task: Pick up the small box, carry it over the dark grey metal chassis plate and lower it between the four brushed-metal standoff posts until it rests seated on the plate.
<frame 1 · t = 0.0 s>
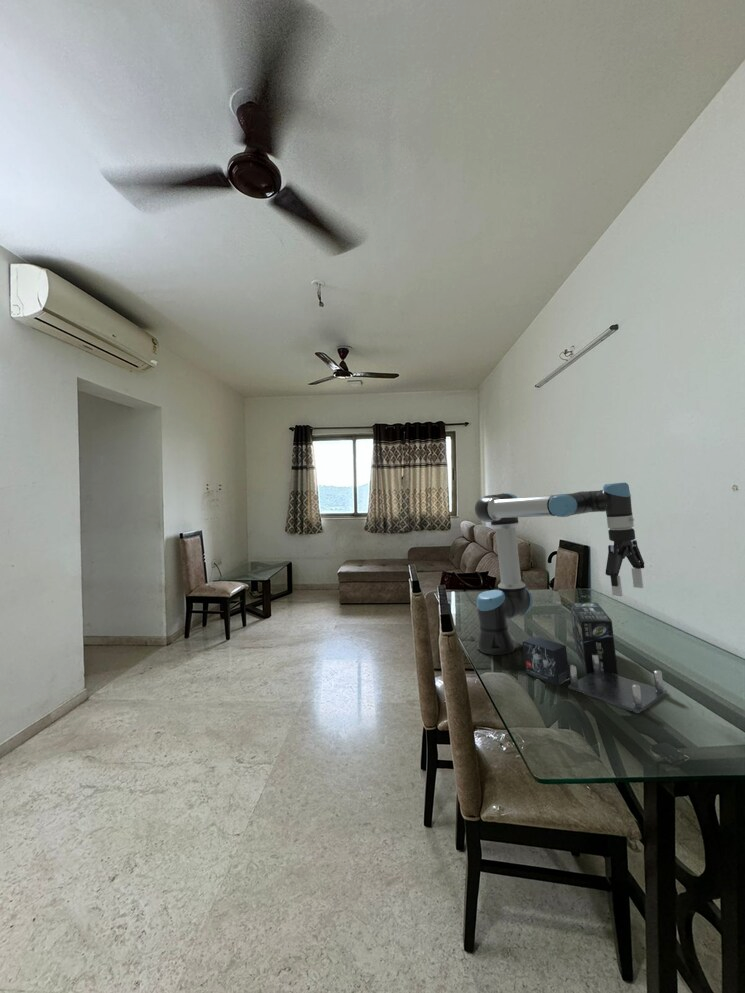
hand: (628, 591, 134), 28 cm above the table, fingers open, 13 cm apart
box: (595, 661, 147), on the table, touching chassis
small box: (547, 677, 138), on the table
chassis: (616, 691, 124), on the table
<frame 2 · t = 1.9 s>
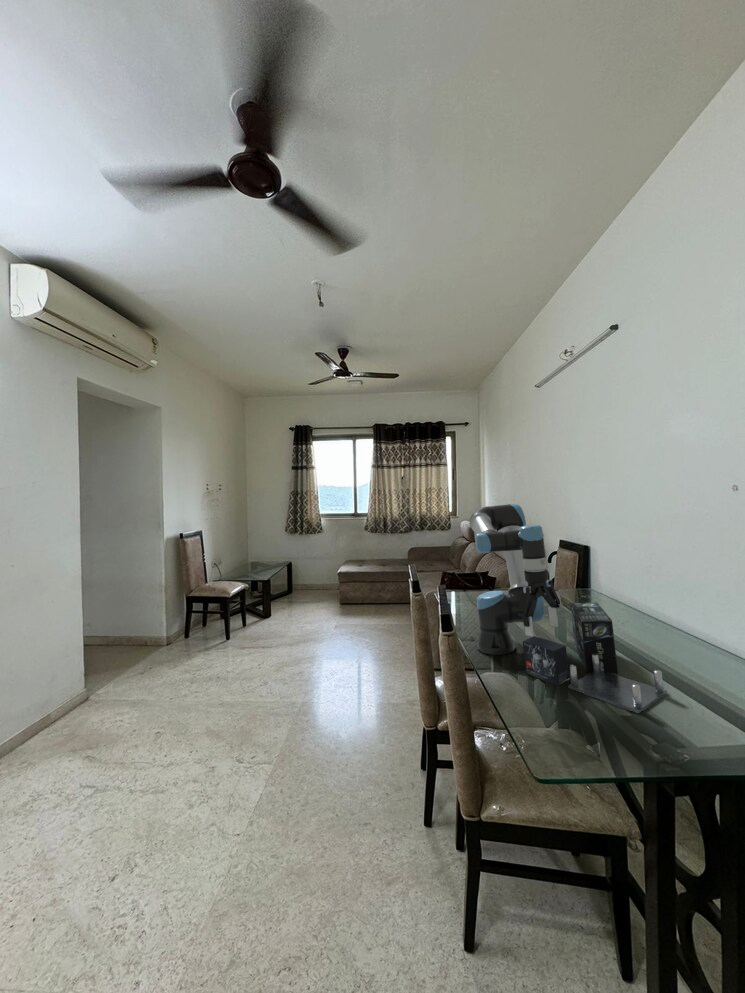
hand: (542, 630, 138), 16 cm above the table, fingers open, 13 cm apart
nothing on the table moved.
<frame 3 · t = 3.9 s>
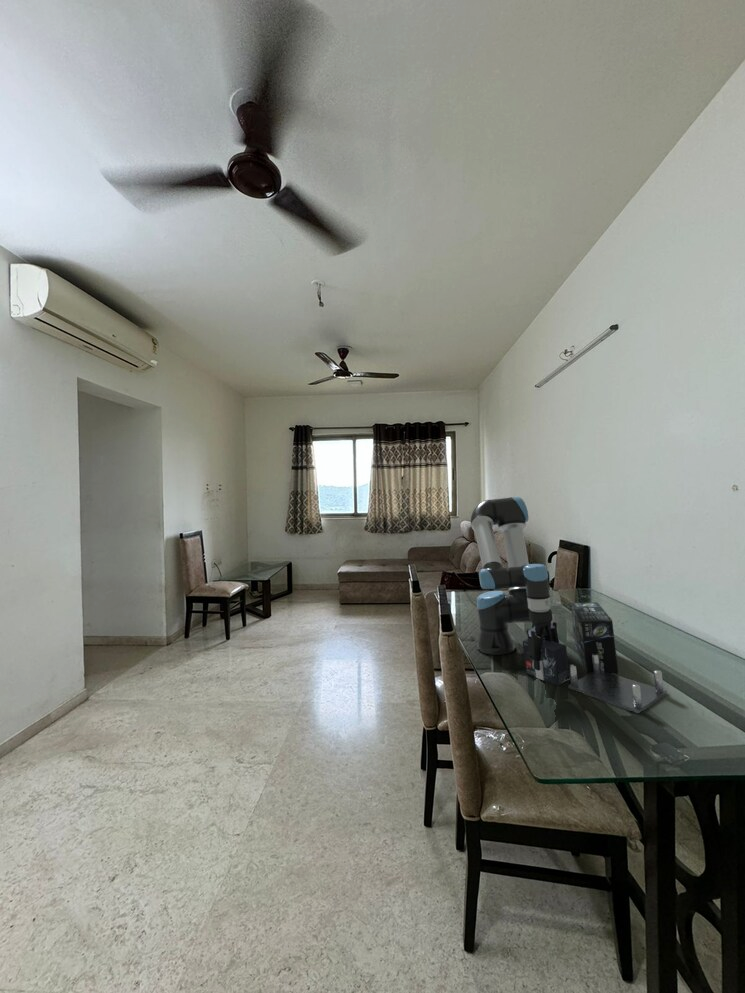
hand: (547, 675, 138), 1 cm above the table, fingers closed on small box, 7 cm apart
small box: (547, 677, 138), on the table, touching gripper
everything else where it was.
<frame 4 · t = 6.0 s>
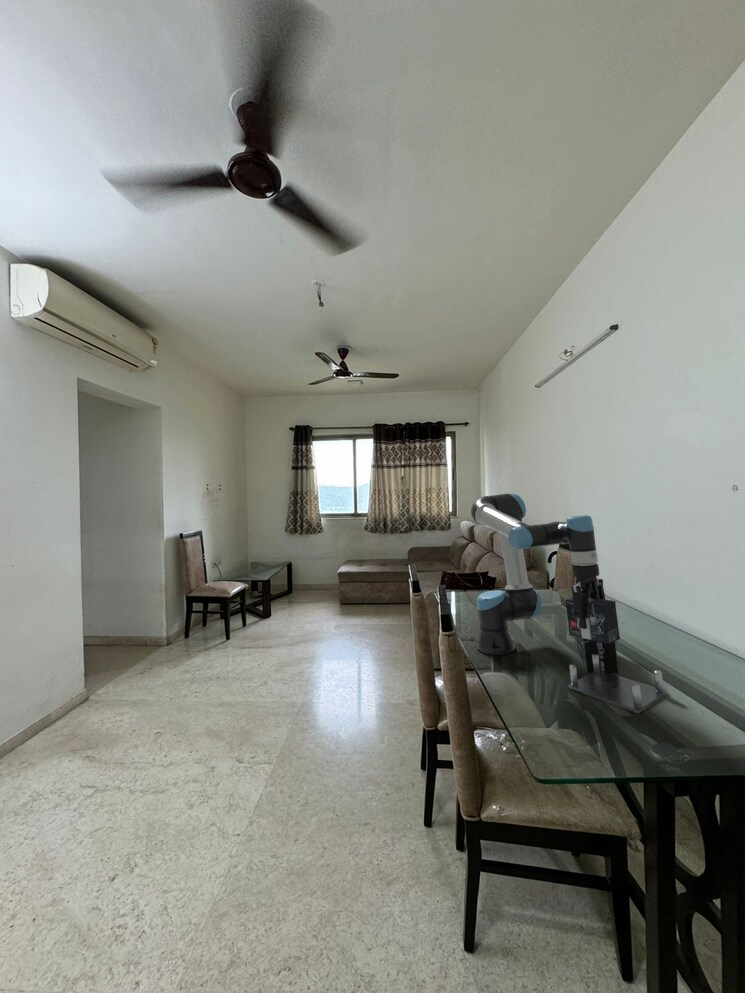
hand: (593, 635, 127), 17 cm above the table, fingers closed on small box, 7 cm apart
small box: (594, 637, 127), point 16 cm above the table, touching gripper
everything else where it was.
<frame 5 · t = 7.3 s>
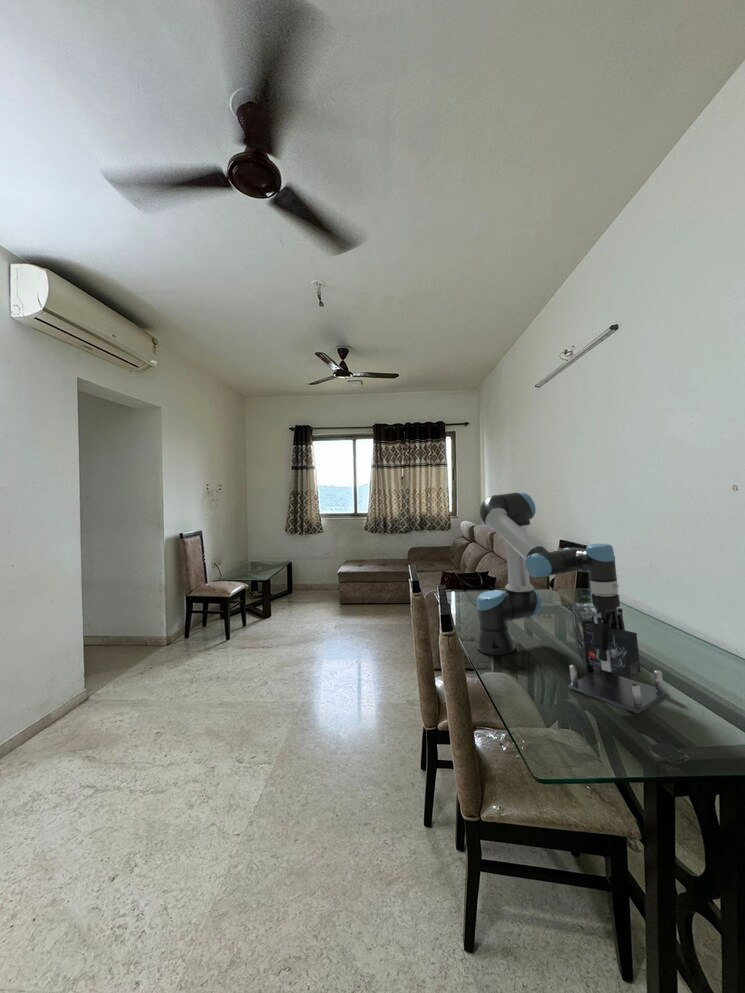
hand: (613, 666, 124), 8 cm above the table, fingers closed on small box, 7 cm apart
small box: (613, 669, 124), point 7 cm above the table, touching gripper
everything else where it was.
when the fingers open (3 cm above the table, at t = 8.4 s): small box drops 1 cm, resting on chassis.
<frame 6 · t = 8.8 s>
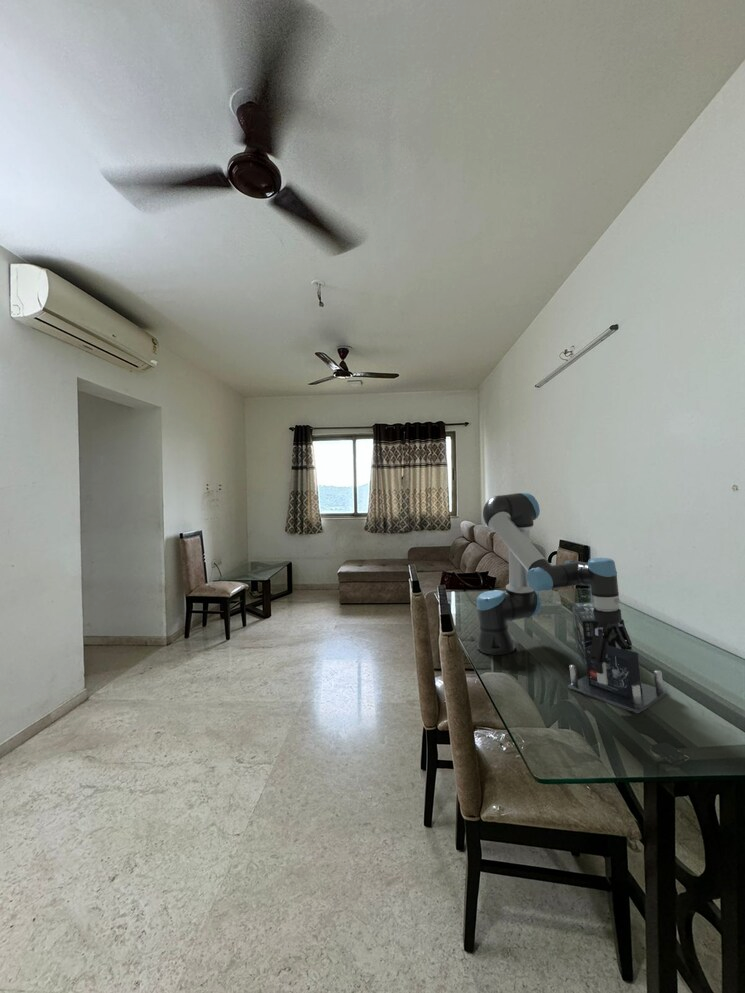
hand: (614, 676, 124), 5 cm above the table, fingers open, 13 cm apart
small box: (614, 688, 124), point 1 cm above the table, touching chassis
everything else where it was.
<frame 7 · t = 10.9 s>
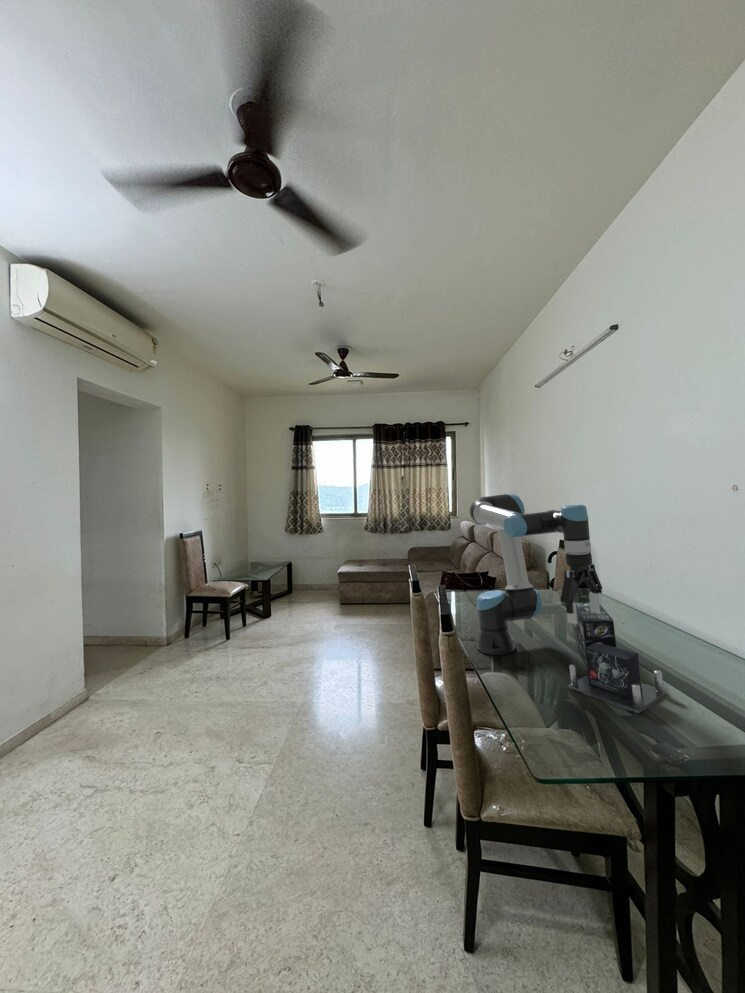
hand: (584, 617, 129), 22 cm above the table, fingers open, 13 cm apart
nothing on the table moved.
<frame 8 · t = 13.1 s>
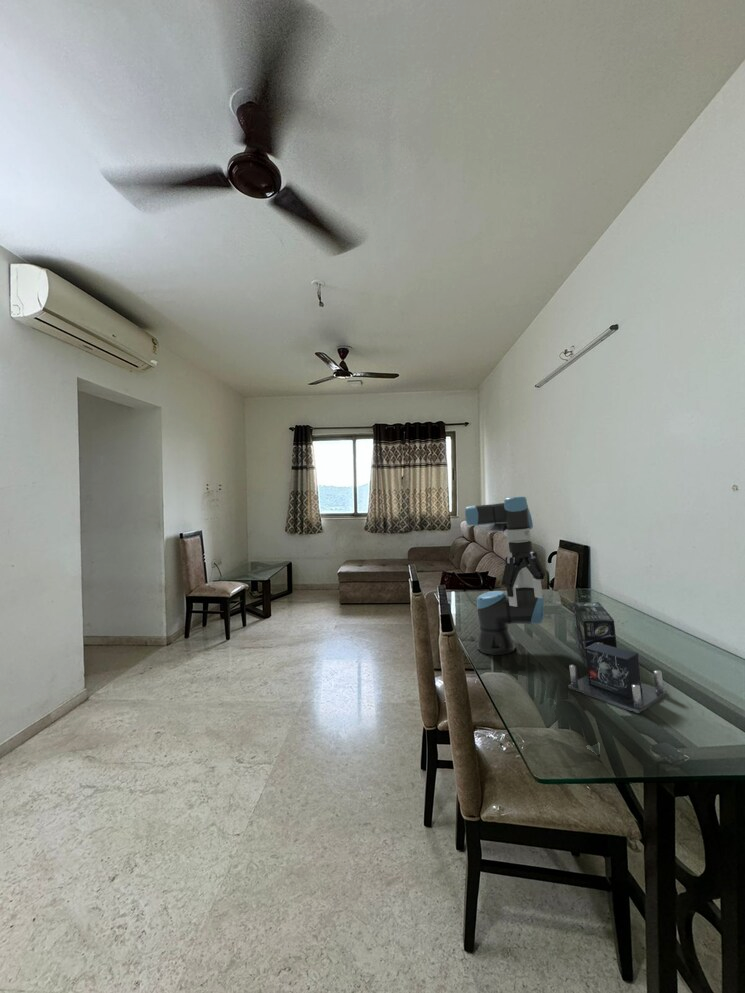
hand: (526, 601, 138), 27 cm above the table, fingers open, 13 cm apart
nothing on the table moved.
at the end: small box 0.4 cm off-centre on the chassis, point 0.8 cm above the chassis's base; small box tilted 0°; the gripper is holding nothing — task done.
